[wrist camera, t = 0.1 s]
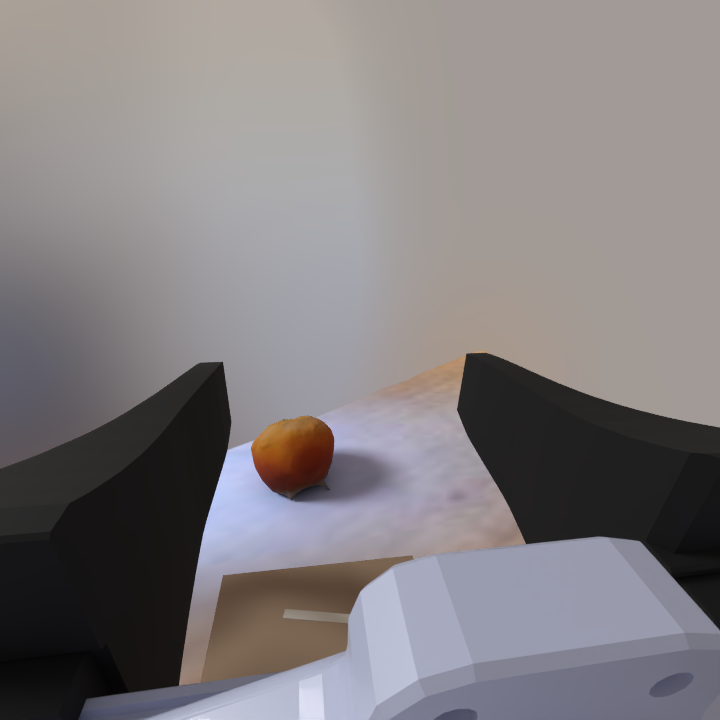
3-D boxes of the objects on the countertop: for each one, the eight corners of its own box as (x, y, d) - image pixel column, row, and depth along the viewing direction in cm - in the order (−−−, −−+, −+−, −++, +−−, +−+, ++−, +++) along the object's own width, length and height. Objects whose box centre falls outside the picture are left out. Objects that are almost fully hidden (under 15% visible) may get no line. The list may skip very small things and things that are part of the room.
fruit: (285, 519, 33) (259, 428, 34) (258, 509, 40) (236, 433, 41) (362, 482, 38) (338, 402, 38) (325, 478, 45) (305, 410, 45)
